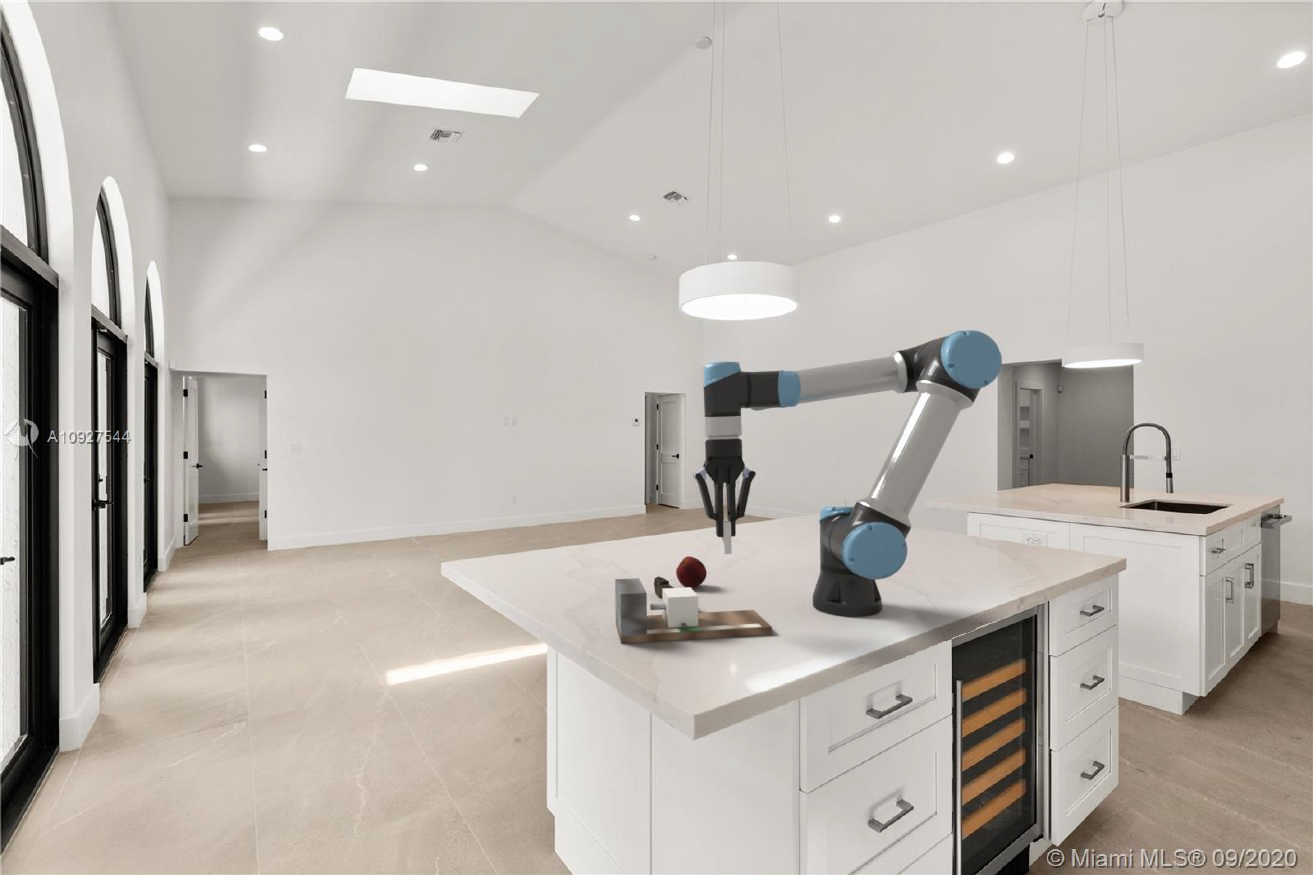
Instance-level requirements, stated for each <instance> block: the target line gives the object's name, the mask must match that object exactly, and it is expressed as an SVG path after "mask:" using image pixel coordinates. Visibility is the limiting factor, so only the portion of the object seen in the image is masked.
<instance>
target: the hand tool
mask: <svg viewBox="0 0 1313 875" xmlns="http://www.w3.org/2000/svg"><path fill="white" fill-rule="evenodd" d="M653 580H654V581H653V586H654V592H655V595H656V596H657V598H659V599H662V589H666V588H675V587H673V585H671V584H670V580H667V579H666V578H664V577H662V576H659V575H658V576H656V577H655V578H653Z"/></svg>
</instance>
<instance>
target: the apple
mask: <svg viewBox="0 0 1313 875" xmlns="http://www.w3.org/2000/svg"><path fill="white" fill-rule="evenodd" d="M706 568H707V567H705V565H704V563H703V562H702V561H701V560H700V559H698V558H696V557H693V556H689V555H687V556H685V557H683V559H682V560H681V561H680V563H679V564H678V566H677V567H676V569H675V570H676V571H675V575H676V578H677V581H678V582H679V583H680V585H682V587H683V588H687V587H691V588H692V589H694V588H697V587H700V586H701V585H702V584H703V583H704V582H705V580H706V578H707V569H706Z"/></svg>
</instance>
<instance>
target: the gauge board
mask: <svg viewBox="0 0 1313 875" xmlns="http://www.w3.org/2000/svg"><path fill="white" fill-rule="evenodd" d="M614 583H615V585H614V593H615V595H614V597H615V600H614V601H615V604H614V605H615V607H614V608H615V628H616V632H617V634H618V637H619V641H620V644H621V645H622V644H637V643H639V644H640V643H652V642H656V643H657V642H670V641H686V640H689V641H690V640H704V639H717V638H720V639H723V638H734V637H735V638H737V637H750V636H753V637H754V636H755V637H756V636H767V635H769V636H770V635H772V633H773V626H771V625H770V624H769V623H768V622H767V621H766V620H765V619H764V618H763V617H762V616H760V615H759V614H758V613H757V611H755V610H754V609H746V610H745V609H743V610H724V611H723V610H722V611H708V612H707V611H705V612H698V626H692V627H688V629H683V627H675V628H668V626H667V624H666V623H665V621H664V619H663V614H651V615H648V612H647V611H648V608H647V607H648V605H647V604H648V603H647V602H648V601H647V600H648V599H647V596H648V594H647V590H646V589H645V587H644V585H643V584H642V581H641V580H640V578H637V577H636V578H635V577H633V578H617V579H615V580H614Z"/></svg>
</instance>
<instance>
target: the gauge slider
mask: <svg viewBox="0 0 1313 875" xmlns="http://www.w3.org/2000/svg"><path fill="white" fill-rule="evenodd" d="M661 599H662V602H661V603H660V602H659V603H650V606H649V607H650V611H656V610H657V611H659V610H662V615H663V619H664V621H665V623H666V624H667V626H668V628H675V627H683V629H688V627H692V626H698V613H699V596H698V595H697V593H696V592H695V590H693V588H691V587H687V588H686V587H674V588H666V589H662V598H661Z"/></svg>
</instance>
